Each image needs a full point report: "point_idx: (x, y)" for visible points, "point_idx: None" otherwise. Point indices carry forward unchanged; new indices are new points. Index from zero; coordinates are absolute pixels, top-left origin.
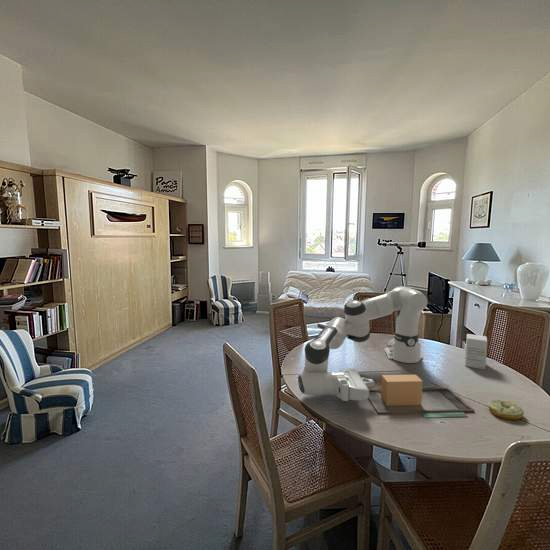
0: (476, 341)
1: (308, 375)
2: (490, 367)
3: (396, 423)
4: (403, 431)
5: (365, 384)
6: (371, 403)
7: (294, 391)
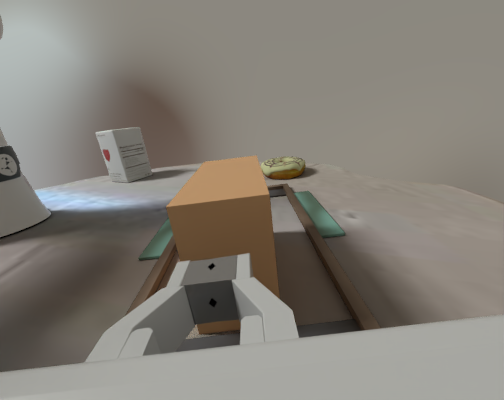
0: (127, 132)
1: None
2: None
3: (462, 314)
4: None
5: (420, 324)
6: None
7: None
